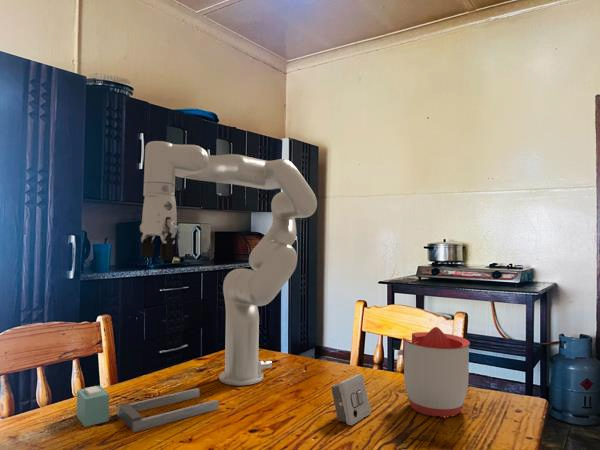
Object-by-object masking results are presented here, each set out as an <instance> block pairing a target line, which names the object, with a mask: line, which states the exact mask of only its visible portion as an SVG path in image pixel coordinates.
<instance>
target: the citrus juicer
mask: <svg viewBox="0 0 600 450" xmlns="http://www.w3.org/2000/svg"><path fill="white" fill-rule="evenodd" d="M470 345H471V342H470V341H469V340H468V339H466V338H464V337H462V336H458V335H455V334H450V333H444V332H443V331H442V329H440V328H439V327H438V326H434V327H433V328H431V329H430V330H429V331H425V332H424V331H422V332H412V334H411V340H409V339H407V338H406V337H403V338H402V349H399V350H398V351H397V354H396V355H397V356H402V359H403V377H404V378H403V379H404V385H405V390H406V394H407V398H408V402H409V404H410V407H411V408H412V409H413V410H414V409H415V410H416V411H415V410H414V411H415V412H418V413H420V414H422V413H423V414H422V415H425V414H426V416H430V415H431V417H435V416H440V417H439V418H442V417H444V416H445V417H447V416H451V417H454V416H453V415H455V416H457V415H456V414H458V413H459V412H461V411H462V409H463V407H464V405H465V400H466V397H467V393H468V388H469V375H470V374H469V367H470V366H469V364H470V361H469V360H470V358H469V357H470V356H469V353H470ZM459 414H460V413H459ZM459 414H458V415H459Z"/></svg>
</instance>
